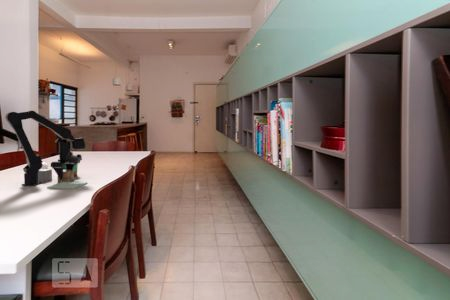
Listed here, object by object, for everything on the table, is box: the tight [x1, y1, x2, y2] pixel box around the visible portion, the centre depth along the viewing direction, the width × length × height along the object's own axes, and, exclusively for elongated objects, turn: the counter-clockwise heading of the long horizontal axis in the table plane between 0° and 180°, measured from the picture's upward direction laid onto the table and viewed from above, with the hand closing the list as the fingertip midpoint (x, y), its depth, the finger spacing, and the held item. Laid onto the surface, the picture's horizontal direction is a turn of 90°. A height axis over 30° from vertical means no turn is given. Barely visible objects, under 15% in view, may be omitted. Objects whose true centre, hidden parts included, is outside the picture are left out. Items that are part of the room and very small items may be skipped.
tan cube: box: [57, 169, 75, 183], centre depth 178 cm, size 6×6×6 cm
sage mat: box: [46, 181, 88, 190], centre depth 166 cm, size 14×14×1 cm
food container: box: [63, 163, 79, 178], centre depth 193 cm, size 12×6×10 cm, turn 179°
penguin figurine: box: [41, 161, 49, 169], centre depth 190 cm, size 6×8×12 cm
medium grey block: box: [38, 168, 53, 182], centre depth 179 cm, size 6×6×6 cm
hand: (65, 177), depth 178 cm, fingers open, 9 cm apart
